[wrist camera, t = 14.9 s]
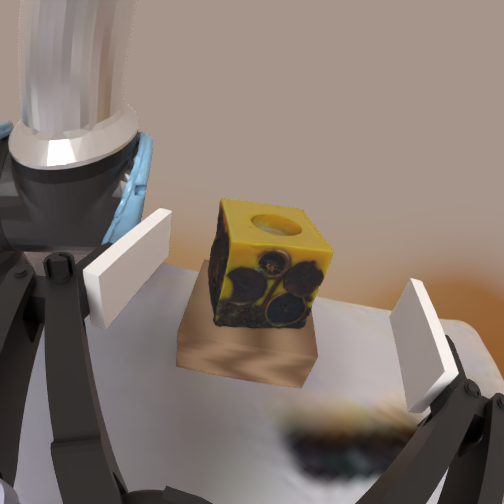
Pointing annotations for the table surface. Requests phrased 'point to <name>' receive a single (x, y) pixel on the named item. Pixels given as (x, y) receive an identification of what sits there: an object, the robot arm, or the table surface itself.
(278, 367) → the wooden box
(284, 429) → the table surface
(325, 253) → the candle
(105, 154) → the robot arm
